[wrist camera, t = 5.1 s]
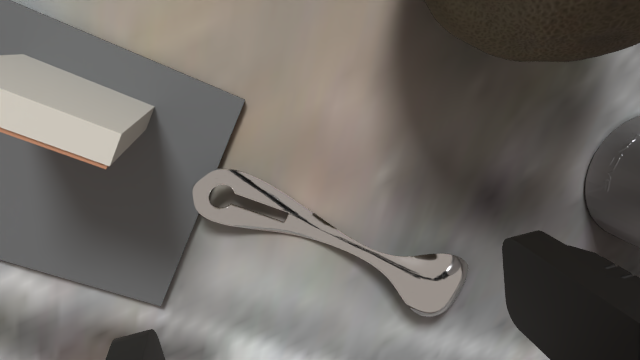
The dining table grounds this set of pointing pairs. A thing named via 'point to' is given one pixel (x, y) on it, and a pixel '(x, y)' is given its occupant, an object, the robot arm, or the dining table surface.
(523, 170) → the dining table surface
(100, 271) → the mat
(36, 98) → the tile
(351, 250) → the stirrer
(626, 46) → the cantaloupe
